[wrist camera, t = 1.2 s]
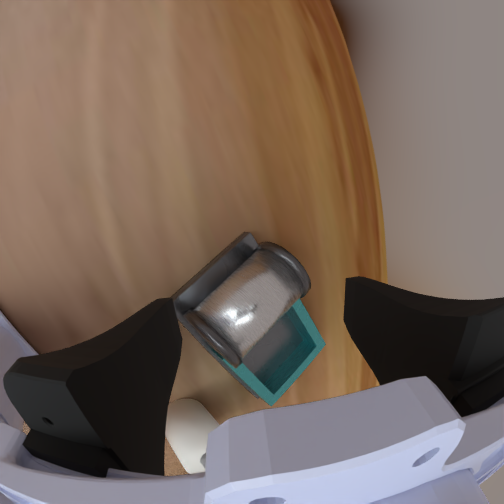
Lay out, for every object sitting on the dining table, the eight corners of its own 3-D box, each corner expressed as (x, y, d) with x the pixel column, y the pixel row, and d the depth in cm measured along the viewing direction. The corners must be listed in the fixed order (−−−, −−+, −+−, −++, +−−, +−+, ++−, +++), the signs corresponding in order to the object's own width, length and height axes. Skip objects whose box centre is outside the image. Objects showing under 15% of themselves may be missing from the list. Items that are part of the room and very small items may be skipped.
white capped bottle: (182, 442, 22) (215, 490, 16) (148, 421, 20) (177, 475, 14) (214, 413, 24) (255, 456, 18) (184, 389, 22) (222, 437, 16)
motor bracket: (252, 394, 26) (290, 424, 21) (164, 303, 21) (193, 330, 15) (310, 330, 30) (354, 347, 25) (248, 228, 24) (297, 230, 19)
